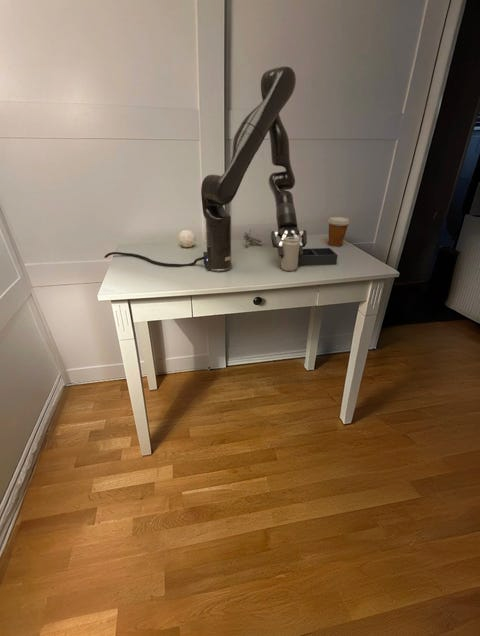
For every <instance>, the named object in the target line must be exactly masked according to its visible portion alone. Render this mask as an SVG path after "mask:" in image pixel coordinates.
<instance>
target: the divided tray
mask: <svg viewBox="0 0 480 636" xmlns="http://www.w3.org/2000/svg"><path fill="white" fill-rule="evenodd" d="M337 262H338V254H337V253H336V252H335V251H334V250H333V249H332V248H331V247H315V248H314V247H313V248H303V255H302V256H301V257H298V266H297V267H304V266H306V267H307V266H326V265H327V266H332V265H333V266H335V265H337Z"/></svg>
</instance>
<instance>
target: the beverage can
mask: <svg viewBox="0 0 480 636" xmlns="http://www.w3.org/2000/svg"><path fill="white" fill-rule="evenodd" d="M289 238H292V239H289ZM299 239H300V237H299V238H296V237H285V238H284V241H283V244H282V247H283V254H284V256H283V258H280V259H281V260H280V269H282V270H283V271H285V272H294V271H295V270H297V269H298V267H299V266H298V257H299V248H300V242H299Z"/></svg>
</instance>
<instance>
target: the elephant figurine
mask: <svg viewBox="0 0 480 636" xmlns="http://www.w3.org/2000/svg"><path fill="white" fill-rule="evenodd" d="M251 232H252V228H251V229H249V233H247V231H245V232H244V235H243V240H245V243H246V244H245V248H247V247H248V245H249V243H250V244H256V245H258V246H262V244H263V243H262V242H263V240H262V239H259V238H257V237H254V236H253V235H252V236H251Z"/></svg>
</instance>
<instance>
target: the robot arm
mask: <svg viewBox="0 0 480 636" xmlns="http://www.w3.org/2000/svg"><path fill="white" fill-rule="evenodd" d="M296 81H297V77H296V73H295V71H294V69H293V68H291V67H290V66H285V65H284V66H279V67H275V68H271V69H268V70H266V71H264V73H263V74H262V75H261V79H260V94H261V100H262V101H261V102H260V103H259V104H258V105H257V106H256V107H255V108H254V109H252V111H250V112H249V113H248V114H247V115H246V116H245V117H244V119H243V120H242V122H241V123H240V125H239V127H238V128H237V129H236V132H235V134H234V135H233V139H232V145H231V159H230V161H229V164H228V166H227V167H226V169H225V171H224V172H223V173H222V175H220V174H219V175H218V174H208V175H206V176H204V178H203V180H202V182H201V186H200V197H201V206H202V214H203V217H204V220H205V235H206V239H205V240H206V242H205V243H206V251H203V253H202V255H203V256H201V257H198V258H196V259H194V260H193V262H189V263H169V262H167V263H166V262H160V261H157V260H154V259H151V258H149V257H147V256H144V255H141V254H137V253H131V252H121V251H112V252H108V253H106V254H105V255H104V256H103V258H104V259H107V258H109V257H110V256H112V255H121V256H127V257H128V256H129V257H135V258H140V259H143V260H144V261H147V262H150V263H152V264H155V265H159V266H165V267H190V266H191V267H192V266H194V265H196V264H197V262H199V261H203V265H206V266H207V267H206V268H207V271H212V272H218V273H219V272H227V271H229V270H231V269H232V216H231V214H230V213H228V211H227V210H226V209H225V207H224V206H227V205H230V204H231V203H232V201H233V200H234V198H235V197H236V195H237V193H238V190H239V188H240V186H241V183H242V181H243V179H244V176H245V175H246V172H247V171H248V168H249V167H250V165H251V163H252V161H253V159H254V157H255V156H256V154H257V153H258V151H259V150H260V148H261V146H262V144H263V142H264V140H265V138H266V136H267V134H269V145H270V159H271V164H272V165H273V166H275V167H281V168H284V170H283V171H278V172H277V171H275V172H272V173H271V174H270V175H269V177H268V180H267V181H268V187H269V190H270V191H271V193H272V195H273V198H274V202H275V219H276V226H277V231H275V230H272V231H271V232H270V239H271V245H272V248H273V249H275V248H276V249H277V253H278V257H280V259H282V258H283V256H284V254H283V247H282V246H283V241H284V238H285V237H296V238H299V242H300V248H299V257H301V256H302V255H303V249H304V248H305V247H306V245H307V244H308V238H307V230H306V229H304V230H299V228H298V221H297V214H296V213H297V212H296V207H295V202H294V196H293V193H292V192H291V191H289V190H293V188H294V187H295V185H296V178H295V177H296V176H295V174H294V171H293V168H292V164H291V157H290V140H289V136H288V133H287V130H286V128H285V126H284V124H283V121H282V119H281V115H280V113H281V111H282V110H283V108H284V107H285V106H286V104H287V103H288V101H289V100H290V98H291V97H292V96H293V93H294V91H295V87H296V83H297V82H296ZM299 236H300V237H299ZM277 237H279V238H280V241H279V243H278V240H277ZM300 238H301V240H300ZM289 239H292V238H289Z"/></svg>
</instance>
